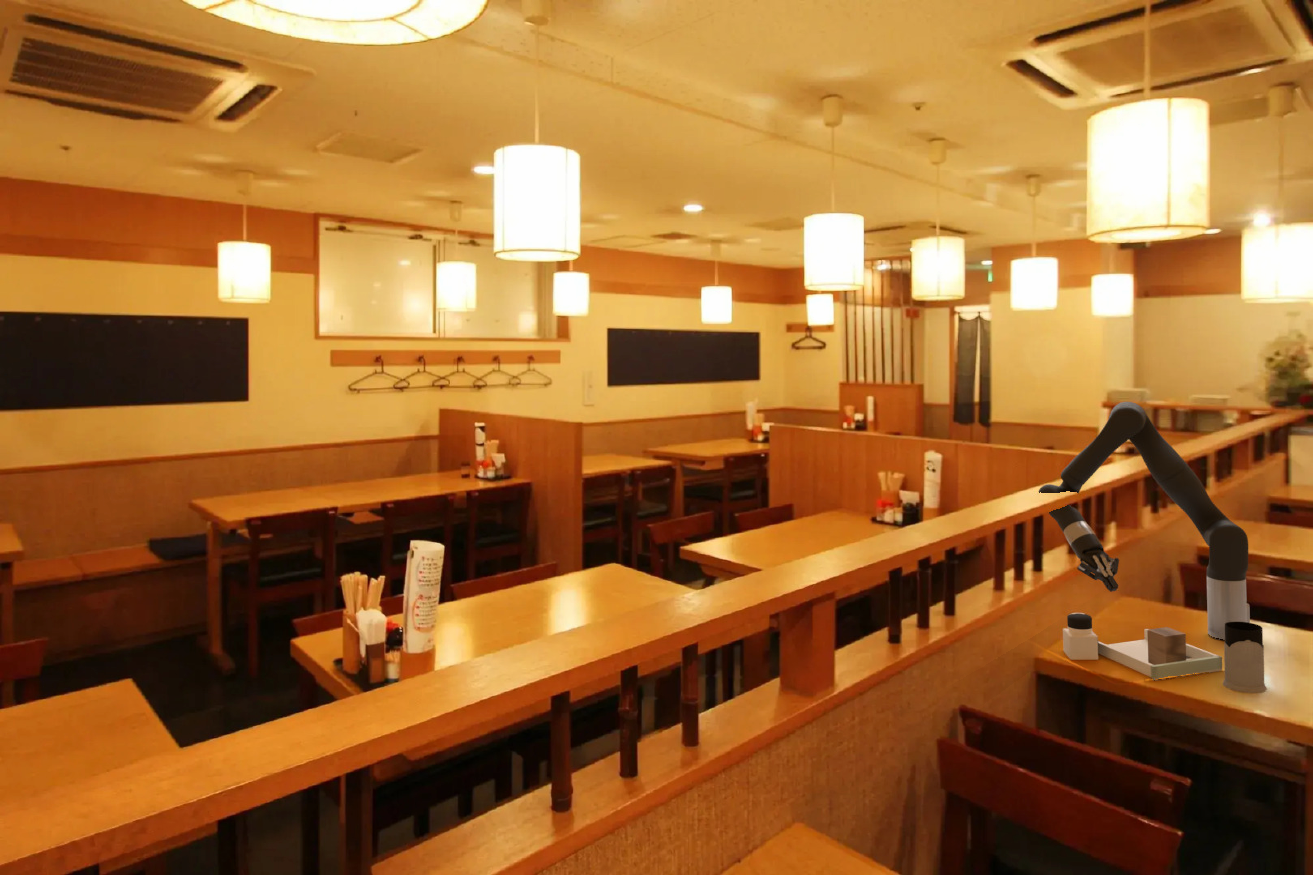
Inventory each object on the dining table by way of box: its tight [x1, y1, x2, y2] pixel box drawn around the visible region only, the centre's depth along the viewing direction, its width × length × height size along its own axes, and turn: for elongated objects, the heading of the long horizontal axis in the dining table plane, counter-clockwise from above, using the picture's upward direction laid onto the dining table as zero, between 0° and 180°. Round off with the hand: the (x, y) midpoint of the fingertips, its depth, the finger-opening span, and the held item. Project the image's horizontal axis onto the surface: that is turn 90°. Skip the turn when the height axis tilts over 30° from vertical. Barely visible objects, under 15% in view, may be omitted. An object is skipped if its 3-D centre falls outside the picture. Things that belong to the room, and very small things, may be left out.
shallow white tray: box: [1098, 628, 1223, 681], centre depth 220 cm, size 20×25×4 cm
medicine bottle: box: [1062, 612, 1099, 662], centre depth 225 cm, size 7×7×12 cm
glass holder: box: [1222, 621, 1267, 694], centre depth 201 cm, size 9×14×15 cm, turn 157°
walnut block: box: [1147, 626, 1187, 665], centre depth 213 cm, size 6×6×9 cm
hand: (1114, 589), depth 232 cm, fingers closed
